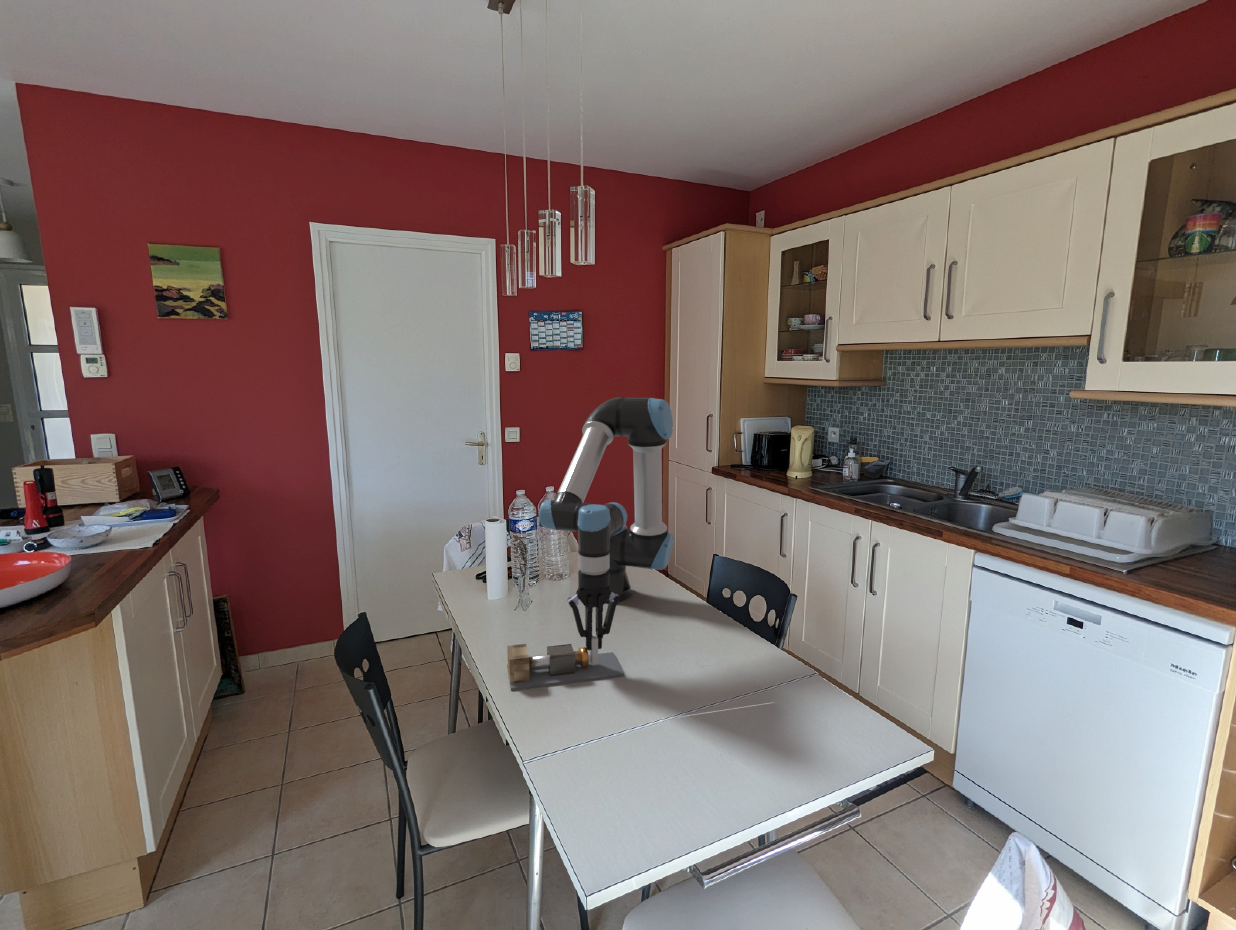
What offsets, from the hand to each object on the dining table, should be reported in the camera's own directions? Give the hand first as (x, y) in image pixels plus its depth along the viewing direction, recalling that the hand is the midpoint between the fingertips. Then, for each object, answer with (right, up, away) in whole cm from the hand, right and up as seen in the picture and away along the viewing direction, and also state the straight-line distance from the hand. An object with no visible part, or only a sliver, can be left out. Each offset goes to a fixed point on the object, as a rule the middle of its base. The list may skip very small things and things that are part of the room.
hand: (593, 660), depth 145 cm
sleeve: (-8, -2, -2) cm, 8 cm away
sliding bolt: (-10, -1, -2) cm, 10 cm away
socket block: (-18, -2, -4) cm, 18 cm away
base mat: (-7, -2, -1) cm, 7 cm away
